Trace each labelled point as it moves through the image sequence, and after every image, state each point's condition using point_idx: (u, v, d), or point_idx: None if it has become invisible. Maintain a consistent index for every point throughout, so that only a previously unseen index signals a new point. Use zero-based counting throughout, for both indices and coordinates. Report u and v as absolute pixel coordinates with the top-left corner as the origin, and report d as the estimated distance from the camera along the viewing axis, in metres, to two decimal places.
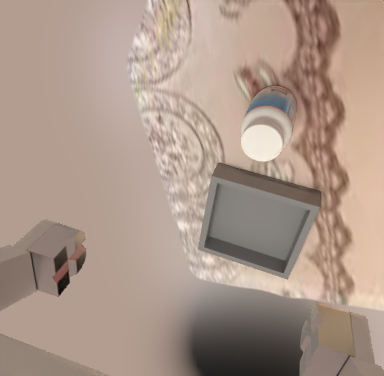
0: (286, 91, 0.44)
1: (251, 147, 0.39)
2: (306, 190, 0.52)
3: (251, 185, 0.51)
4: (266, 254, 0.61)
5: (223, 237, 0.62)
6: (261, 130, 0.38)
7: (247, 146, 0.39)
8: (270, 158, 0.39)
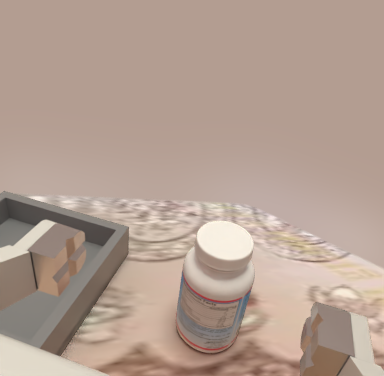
0: (235, 336, 0.32)
1: (218, 229, 0.28)
2: None
3: (102, 266, 0.34)
4: None
5: None
6: (245, 241, 0.27)
7: (219, 225, 0.29)
8: (202, 244, 0.27)
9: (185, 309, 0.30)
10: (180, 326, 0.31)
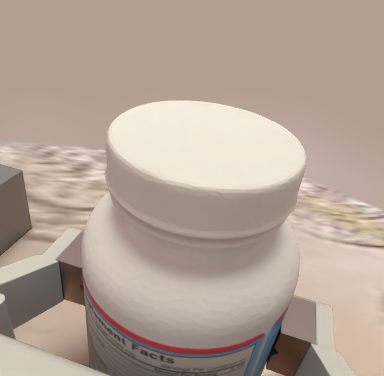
0: None
1: (188, 114, 0.09)
2: None
3: None
4: None
5: None
6: (275, 143, 0.08)
7: (193, 108, 0.09)
8: (121, 143, 0.07)
9: (94, 362, 0.10)
10: None
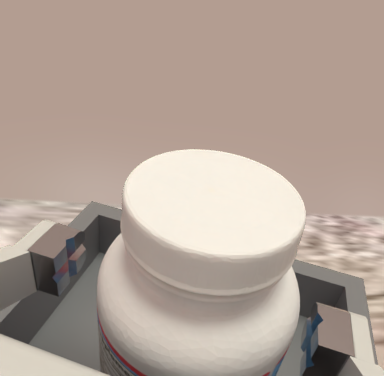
0: None
1: (195, 166, 0.10)
2: None
3: None
4: None
5: (89, 286, 0.20)
6: (277, 198, 0.09)
7: (198, 159, 0.10)
8: (137, 207, 0.08)
9: None
10: None
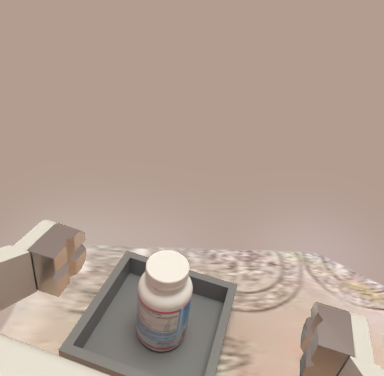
0: (182, 338, 0.41)
1: (163, 257, 0.37)
2: None
3: (227, 323, 0.42)
4: (91, 335, 0.41)
5: (126, 287, 0.47)
6: (182, 266, 0.37)
7: (165, 254, 0.38)
8: (149, 270, 0.36)
9: (140, 318, 0.39)
10: (138, 331, 0.40)
